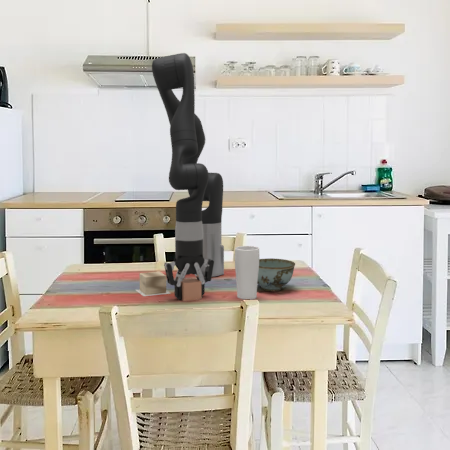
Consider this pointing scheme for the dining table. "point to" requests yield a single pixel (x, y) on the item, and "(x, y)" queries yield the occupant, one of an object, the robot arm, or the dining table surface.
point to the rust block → (191, 289)
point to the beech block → (152, 283)
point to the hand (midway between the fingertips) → (189, 297)
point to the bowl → (274, 273)
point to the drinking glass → (247, 271)
